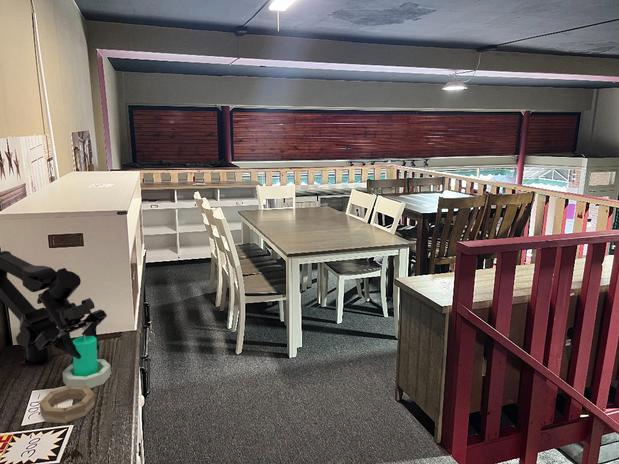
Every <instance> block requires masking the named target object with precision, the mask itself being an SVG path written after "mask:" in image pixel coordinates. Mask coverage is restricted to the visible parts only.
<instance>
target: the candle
mask: <svg viewBox="0 0 619 464" xmlns="http://www.w3.org/2000/svg"><path fill="white" fill-rule="evenodd" d="M97 340H98V337H97V338H95V337H94V336H85V334H84V336H83V335H80V336H77V337H76V338H75V339H73V340H72V342H73V344H74V345H75V348H76V350H77V351H78V352H79V354H80V355H81V358H80V359H77V358H75V357H74V356H72V359H73V362H72V363H74V376H89V375H92V374H95V373H98V372H99V371H97V359H98V350H97Z"/></svg>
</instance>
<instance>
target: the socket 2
mask: <svg viewBox="0 0 619 464" xmlns="http://www.w3.org/2000/svg"><path fill="white" fill-rule="evenodd" d="M69 400H77V401H78V400H79V401H80V400H81V401H80V402H78V403H75V404H73V405H69V406H66V407H55V405H58V404H61V403H63V402H66V401H69ZM94 406H95V393H94V391H92V388H89V387H88V386H73V385H69V386H66V385H65V386H64V387H61V388H58V389H55V390H52V391H49V393H47V394H46V395H45V396H44V397H43V398H42V399H41V400H40V401H39V413H40V416H41V417H42V418H43V419H44V421H45V423H50V424H51V423H53V424H54V423H55V424H67V423H69V422H73V421H74V420H77V419H80V418H82V417H85V416H87V415H88V413H89V412H90V411H91V410H92V409H93V407H94Z"/></svg>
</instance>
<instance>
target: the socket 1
mask: <svg viewBox="0 0 619 464" xmlns="http://www.w3.org/2000/svg"><path fill="white" fill-rule="evenodd" d="M111 368H112V367H111V364H110V363H109V362H107V360H106V359H102V358H97V371H98V373H95V374H92V375H89V376H74V363H73V362H72V363H70V365H69V366H68V367H66V368H65V369H64V370H63V371H62V382H63V383H64V385H65V387H66V386H69V385H73V386H88V387H89V388H90V389H92V388H96V387H98V386H101V385H104V384H105V383H106V382H107V381H108V379H109V378H110V377H111V376H112V372H111V371H112V369H111ZM110 375H111V376H110Z"/></svg>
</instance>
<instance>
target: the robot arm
mask: <svg viewBox="0 0 619 464" xmlns="http://www.w3.org/2000/svg"><path fill="white" fill-rule="evenodd" d="M8 274H9V275H11V276H14V277H16V278H17V279H19V280H21V282H22V286H23V287H24V288H25V289H26V290H28V291H29V292H30V293H36V292H40V291H42V290H43V292H40V293H38V297H37V299H36V303H37V304H38V305H40V304H42V305H43V306H44V307H40V308H38V309H37V308H36V307H35V306H34V305H33V304H32V303H31V302H30V301H29V300H28V299H27V298H26V297H25V295H23V293H22V292H21V291H20V290H19V288H17V287H16V286H15V285H14V284H13V283H12V281H11V280H10V279H9V278H8ZM81 281H82V280H81V277H80V276H79V275H78V274H76V273H75V272H73V271H72V270H71V271H70V270H67V268H66V267H63V268H58V270H57V271H56V270H55V269H54V268H52V267H50V266H47V265H34V264H31V263H29V262H28V261H26V260H24V259H21V258H19V257H18V256H15V255H13V254H12V253H11V252H10V251H8V250H3V251H0V300H1V301H2V302H3V303H4V305H5V306H6V307H7V308H8V309H9V310H10V312H11V313H12V314H13V315H14V316H15V317H16V318H17V320H18V321H19V332H18V334H17V335H16V336H15V339H16V344H17V345H19V346H20V347H21V346H22V348H23V357H24V358H23V359H24V360H22V361H20V364H21V365H30V366H43V365H45V364H46V363H48V362H49V361H50V360H51V359H52V358H53V357H54V356H55V353H54V351H53V348H55V349H58V350H61V351H63V352H65V353H66V354H68V355H70V356H71V357H73V356H74V357H75V358H77V359H80V358H81V355H80V354H79V352H78V351H77V350H76V348H75V345H74V344H73V340H72V339H71V333H72V332H76V331H77V330H80V329H82V330H83V331H82V333H81V336H84V334H85V336H94V337H95V338H97V351H99V349H100V346H99V340H98V335H97V326H99V325H100V324H101V323H102V322H103V321H104V320H105V318H107V317H108V314H107V312H105V310H103V309H98V310H95V311H91V310H93V309H95V307H96V306H95V303H94V301H93V300H92V299H91V297H88V298H85V299H82V300H81V304H79V305H76V303H75V302H70V301H69V299H70V297H71V296H72V295H73V294H74V293H75V291H76V290H77V289H78V287H80V285H81V284H82V283H81ZM86 315H87V316H86Z"/></svg>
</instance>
